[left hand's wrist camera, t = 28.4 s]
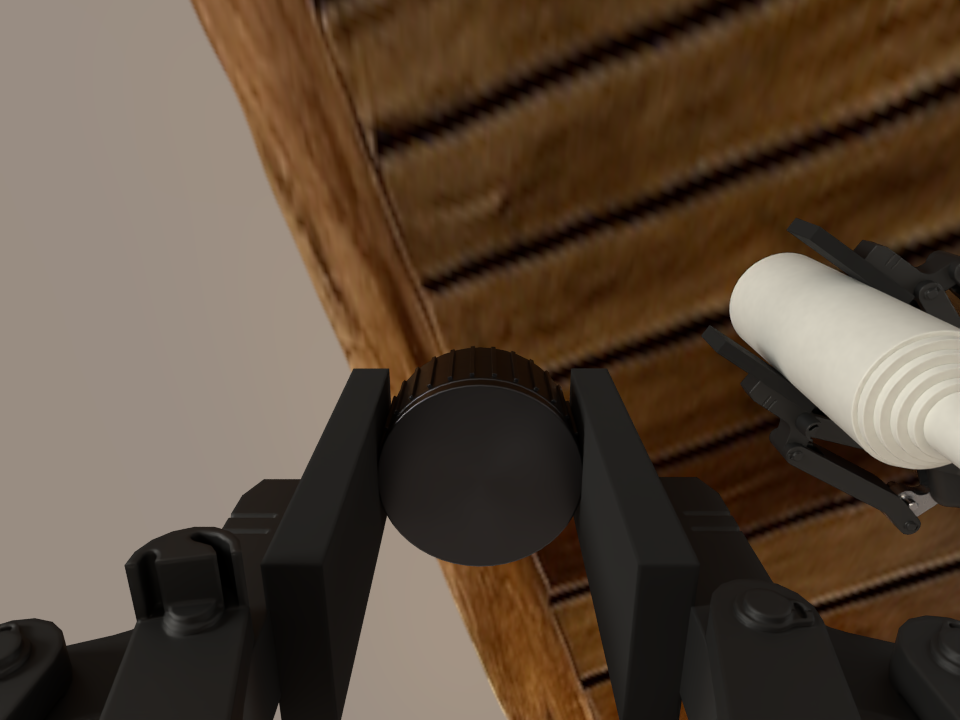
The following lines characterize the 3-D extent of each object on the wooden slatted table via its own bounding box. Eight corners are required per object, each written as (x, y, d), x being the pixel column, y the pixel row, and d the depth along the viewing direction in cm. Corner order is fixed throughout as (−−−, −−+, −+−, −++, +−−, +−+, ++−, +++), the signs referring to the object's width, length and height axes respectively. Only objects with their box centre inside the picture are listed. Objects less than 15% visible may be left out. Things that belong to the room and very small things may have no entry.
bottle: (781, 367, 44) (999, 561, 26) (708, 313, 43) (882, 476, 24) (852, 290, 42) (1144, 439, 24) (779, 232, 41) (1025, 339, 22)
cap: (589, 356, 14) (606, 396, 12) (555, 521, 15) (566, 579, 14) (395, 332, 14) (382, 369, 12) (379, 500, 15) (365, 557, 13)
